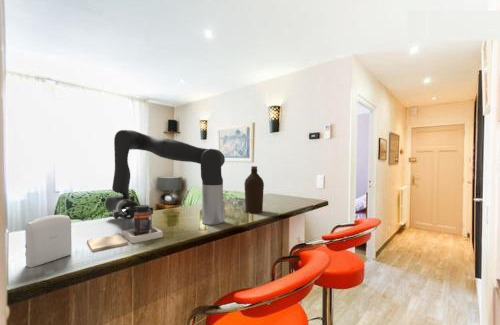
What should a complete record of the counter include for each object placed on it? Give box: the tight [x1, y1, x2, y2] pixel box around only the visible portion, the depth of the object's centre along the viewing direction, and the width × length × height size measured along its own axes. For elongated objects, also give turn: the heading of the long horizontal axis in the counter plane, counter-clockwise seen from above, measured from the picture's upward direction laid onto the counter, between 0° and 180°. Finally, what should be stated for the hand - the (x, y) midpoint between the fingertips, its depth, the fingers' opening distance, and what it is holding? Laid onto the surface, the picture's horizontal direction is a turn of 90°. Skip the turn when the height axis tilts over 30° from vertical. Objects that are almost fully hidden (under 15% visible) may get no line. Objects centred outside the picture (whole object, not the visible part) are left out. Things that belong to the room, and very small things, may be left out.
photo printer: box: [24, 214, 72, 268], centre depth 67 cm, size 10×4×12 cm, turn 156°
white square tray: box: [123, 225, 164, 244], centre depth 89 cm, size 10×10×2 cm
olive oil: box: [244, 165, 265, 214], centre depth 133 cm, size 11×11×25 cm
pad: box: [86, 234, 129, 252], centre depth 81 cm, size 10×11×1 cm
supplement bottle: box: [133, 204, 153, 236], centre depth 89 cm, size 6×6×11 cm
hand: (138, 215), depth 92 cm, fingers open, 8 cm apart
